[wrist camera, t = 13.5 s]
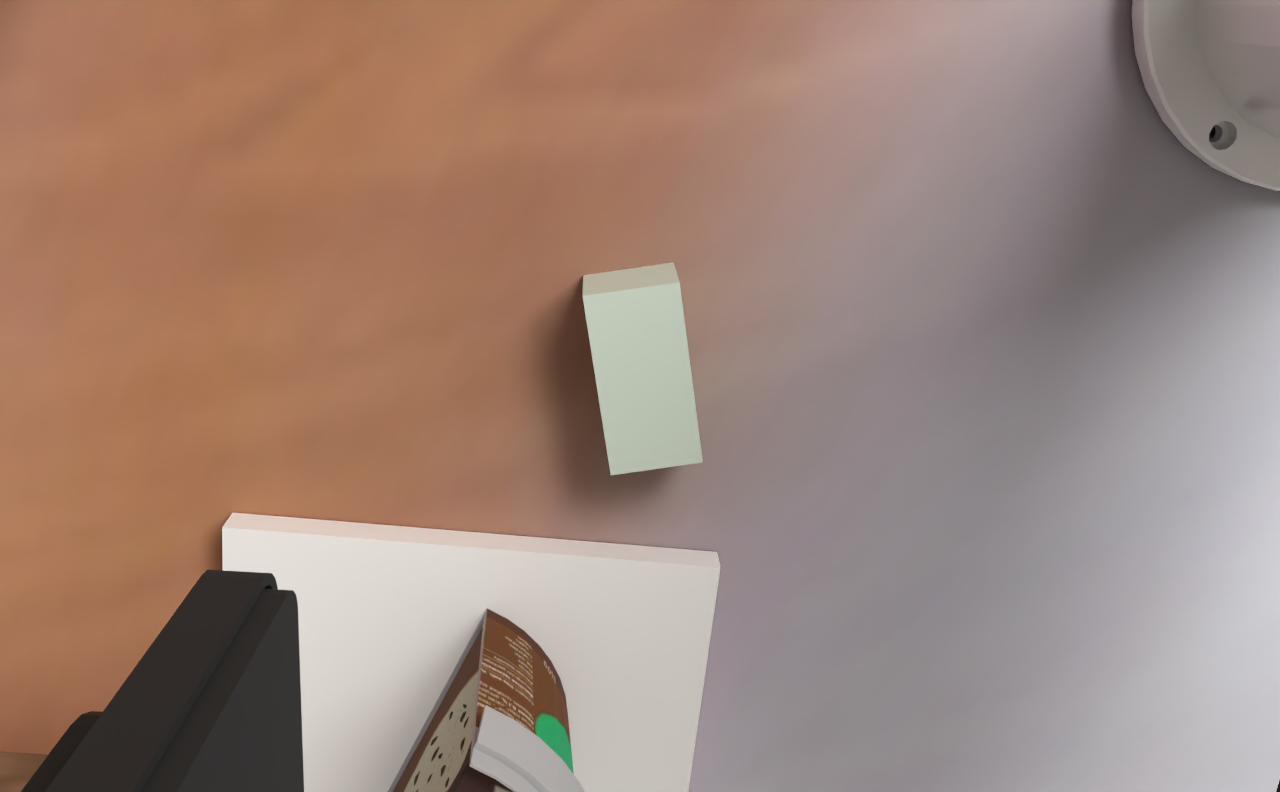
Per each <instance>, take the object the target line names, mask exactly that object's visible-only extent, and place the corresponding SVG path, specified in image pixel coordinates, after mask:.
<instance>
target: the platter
mask: <svg viewBox="0 0 1280 792" xmlns="http://www.w3.org/2000/svg"><path fill="white" fill-rule="evenodd" d="M222 566H223V571H241V572H259V573H272V574H273V576H274V577H275V579H276V583H277V587H278V590H293V591H294V592H295V594H296V597H297V604H298V625H299V655H300V684H301V714H302V744H303V773H304V792H388V790H389V788H390V786H391V784H392V783H393V781H394V779H395V777H396V775H397V773H398V772H399V770H400V768H401V766H402V764H403V762H404V760H405V759H406V757H407V755H408V753H409V751H410V749H411V748H412V746H413V744H414V742H415V740H416V738H417V736H418V735H419V733H420V731H421V729H422V727H423V725H424V724H425V722H426V720H427V718H428V716H429V714H430V712H431V711H432V709H433V707H434V705H435V703H436V701H437V700H438V698H439V696H440V694H441V692H442V690H443V688H444V687H445V685H446V683H447V681H448V679H449V677H450V676H451V674H452V672H453V670H454V668H455V666H456V664H457V663H458V661H459V659H460V657H461V655H462V653H463V652H464V650H465V648H466V646H467V644H468V642H469V640H470V639H471V637H472V635H473V633H474V631H475V629H476V628H477V626H478V624H479V622H480V620H481V618H482V616H483V615H484V613H485V611H486V609H489V610H491V611H493V612H495V613H497V614H499V615H501V616H503V617H505V618H507V619H508V620H510V621H511V622H513V623H514V624H515V625H517V626H518V627H520V628H521V629H522V630H524V631H525V632H526V633H527V634H528V635H529V636H530V637H531V638H532V639H533V640H534V641H535V642H536V643H537V644H539V645H540V647H541V648H542V649H543V651H544V652H545V653H546V655H547V656H548V657H549V659H550V660H551V662H552V663H553V665H554V667H555V669H556V671H557V673H558V675H559V677H560V679H561V683H562V686H563V689H564V692H565V695H566V703H567V711H568V721H569V731H570V741H571V752H572V762H573V772H574V776H575V777H576V778H577V780H578V781H579V782H580V784H581V786H582V788H583V790H584V792H688V791H689V784H690V777H691V770H692V763H693V756H694V749H695V742H696V735H697V728H698V721H699V714H700V708H701V701H702V694H703V687H704V680H705V673H706V666H707V659H708V652H709V645H710V638H711V631H712V624H713V617H714V610H715V603H716V596H717V589H718V582H719V575H720V568H721V567H720V562H719V558H718V553H717V552H713V551H701V550H688V549H676V548H663V547H651V546H639V545H626V544H614V543H602V542H589V541H577V540H565V539H552V538H540V537H528V536H515V535H503V534H491V533H478V532H466V531H453V530H441V529H429V528H416V527H404V526H392V525H379V524H367V523H355V522H342V521H330V520H318V519H305V518H293V517H281V516H268V515H256V514H244V513H232V514H231V516H230V517H229V518H228V520H227V521H226V523H225V524H224V526H223V527H222Z"/></svg>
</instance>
